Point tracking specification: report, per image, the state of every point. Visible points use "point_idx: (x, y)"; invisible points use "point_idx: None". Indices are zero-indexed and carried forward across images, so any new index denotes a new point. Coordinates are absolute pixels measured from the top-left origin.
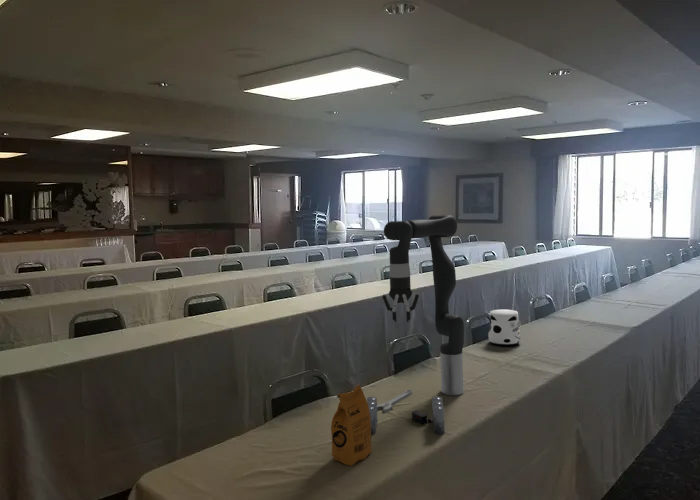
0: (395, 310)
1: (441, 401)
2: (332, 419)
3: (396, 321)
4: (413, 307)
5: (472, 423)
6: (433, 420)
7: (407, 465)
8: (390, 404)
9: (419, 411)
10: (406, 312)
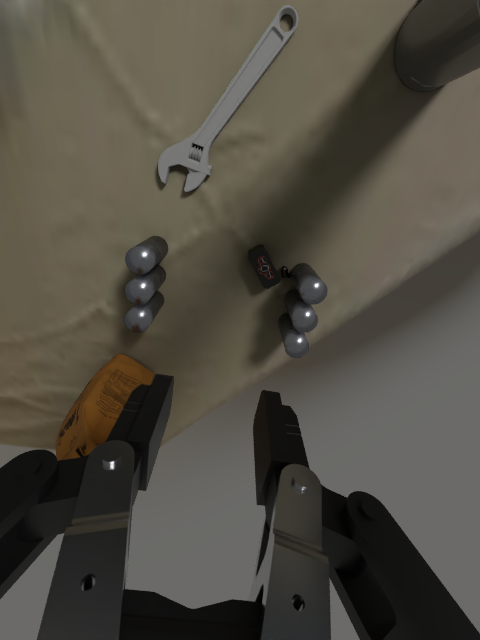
0: (133, 500)
1: (316, 315)
2: (57, 437)
3: (169, 411)
4: (346, 572)
5: (369, 293)
6: (286, 304)
7: (208, 412)
8: (206, 155)
9: (268, 257)
10: (257, 500)
